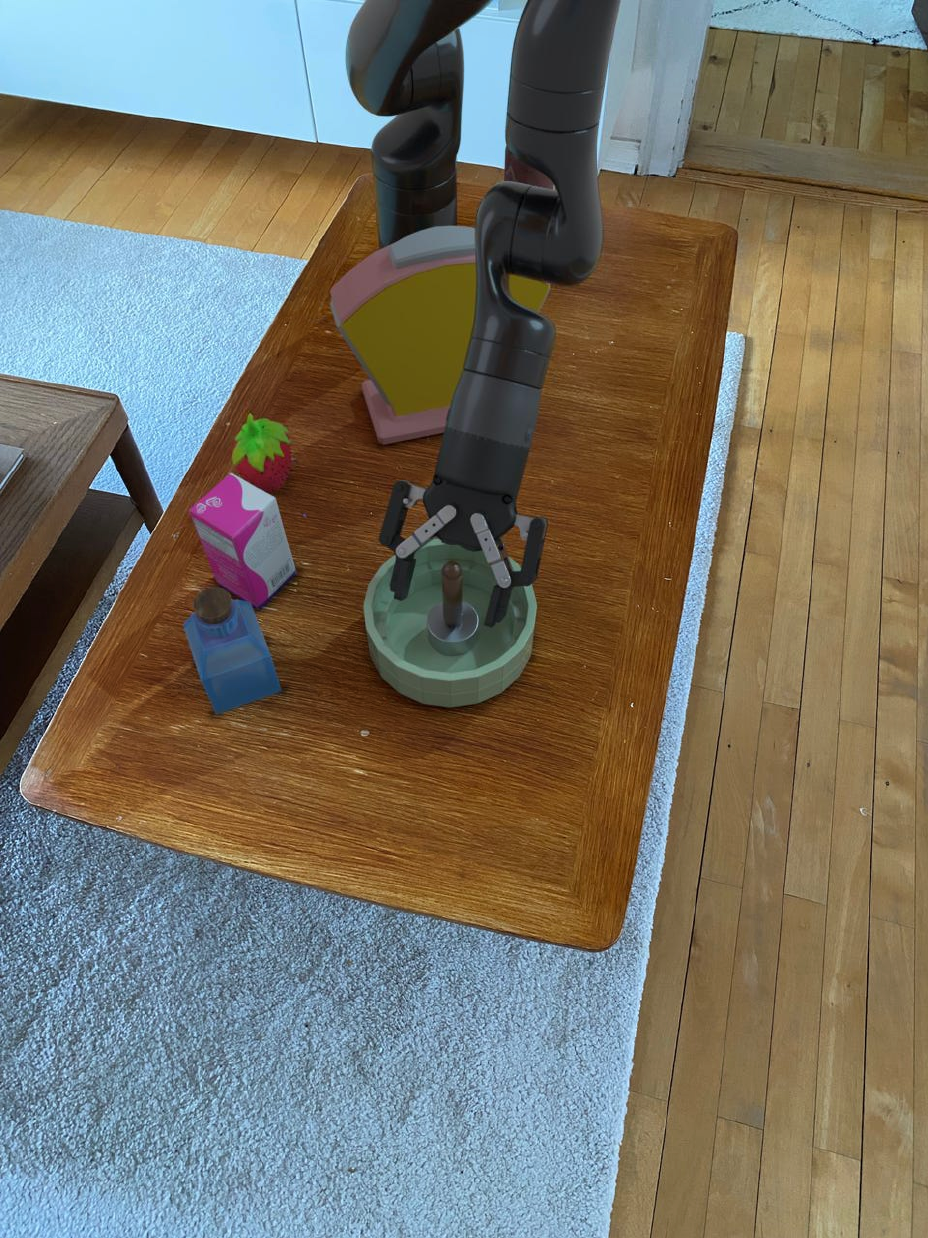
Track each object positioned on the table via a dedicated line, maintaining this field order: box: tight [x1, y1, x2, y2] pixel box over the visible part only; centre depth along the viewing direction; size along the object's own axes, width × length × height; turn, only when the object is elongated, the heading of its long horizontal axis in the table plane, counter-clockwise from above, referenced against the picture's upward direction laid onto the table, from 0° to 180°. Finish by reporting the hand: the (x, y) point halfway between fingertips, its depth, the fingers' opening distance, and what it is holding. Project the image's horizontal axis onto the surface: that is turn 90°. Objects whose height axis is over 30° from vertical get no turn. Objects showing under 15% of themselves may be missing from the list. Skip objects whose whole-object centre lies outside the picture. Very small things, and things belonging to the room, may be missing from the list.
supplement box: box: [188, 472, 297, 611], centre depth 92 cm, size 6×6×12 cm
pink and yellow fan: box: [329, 225, 552, 445], centre depth 101 cm, size 22×9×22 cm, turn 106°
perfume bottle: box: [182, 586, 282, 716], centre depth 85 cm, size 6×6×12 cm
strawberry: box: [230, 413, 292, 492], centre depth 99 cm, size 6×7×10 cm
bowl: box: [362, 538, 538, 708], centre depth 90 cm, size 16×16×6 cm
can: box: [503, 145, 555, 190], centre depth 120 cm, size 6×6×14 cm
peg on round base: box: [427, 561, 479, 656], centre depth 88 cm, size 5×5×11 cm
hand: (444, 611), depth 87 cm, fingers open, 8 cm apart
